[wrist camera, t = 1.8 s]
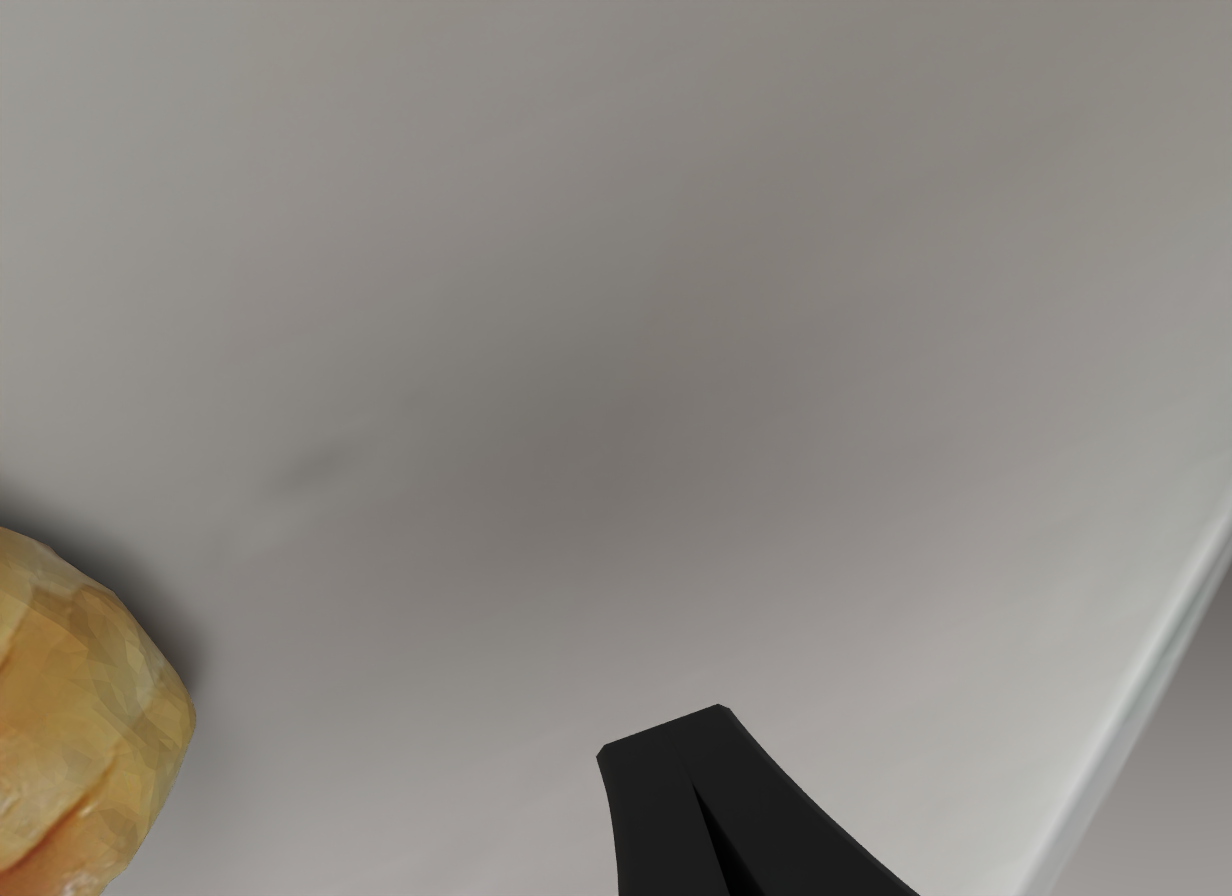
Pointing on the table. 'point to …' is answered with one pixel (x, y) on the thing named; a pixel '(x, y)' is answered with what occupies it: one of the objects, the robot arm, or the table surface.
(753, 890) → the robot arm
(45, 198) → the table surface
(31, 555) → the pastry
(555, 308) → the table surface
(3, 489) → the table surface
